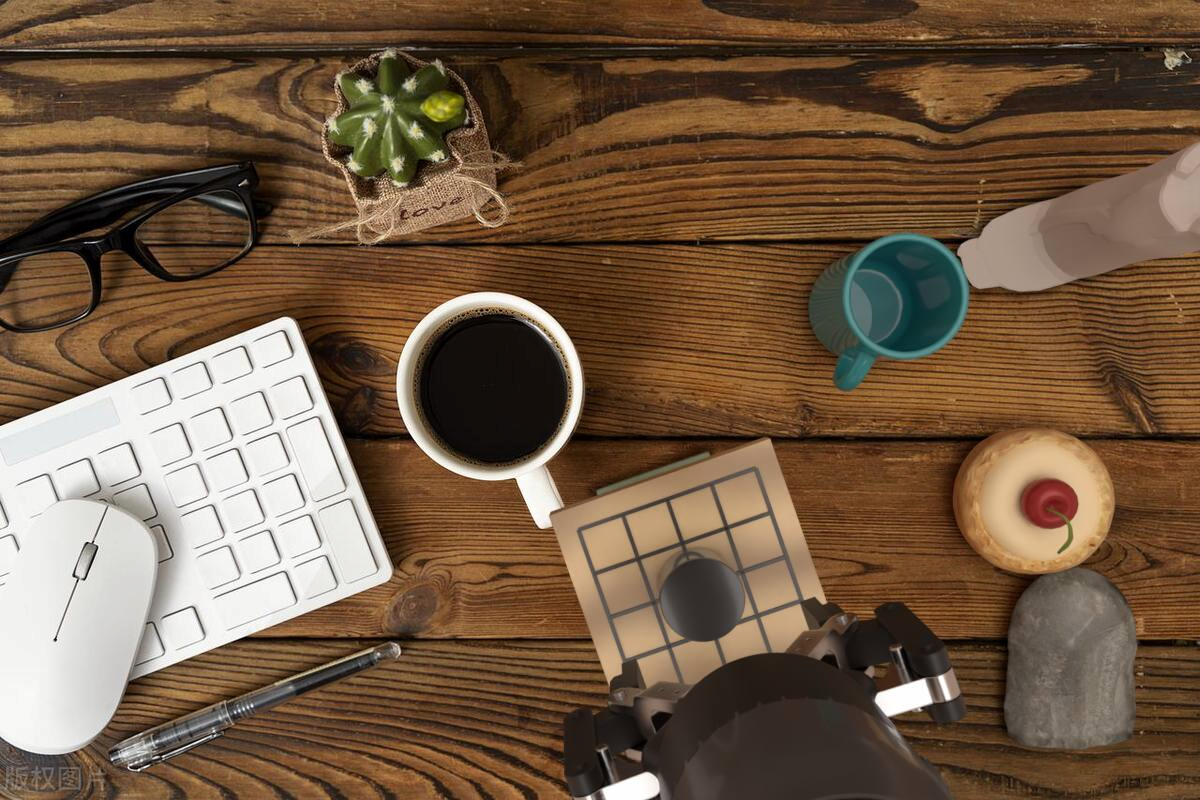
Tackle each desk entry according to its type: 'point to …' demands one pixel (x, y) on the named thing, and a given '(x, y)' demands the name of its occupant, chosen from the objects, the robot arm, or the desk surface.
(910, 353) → the cup
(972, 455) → the pastry
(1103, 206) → the beige tapered piece
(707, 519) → the board
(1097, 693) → the stone
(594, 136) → the desk surface
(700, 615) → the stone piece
